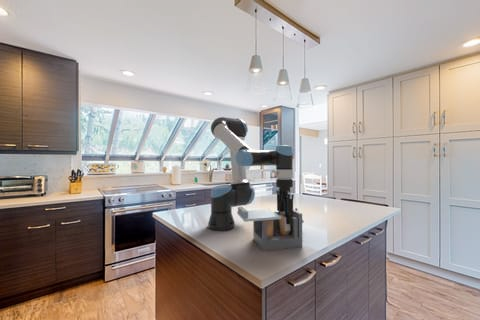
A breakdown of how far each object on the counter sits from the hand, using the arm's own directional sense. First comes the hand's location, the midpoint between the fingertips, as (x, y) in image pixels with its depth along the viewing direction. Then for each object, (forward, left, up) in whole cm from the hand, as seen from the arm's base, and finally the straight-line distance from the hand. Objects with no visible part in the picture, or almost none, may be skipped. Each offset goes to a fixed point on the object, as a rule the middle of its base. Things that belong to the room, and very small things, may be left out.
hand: (284, 228), depth 101 cm
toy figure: (-14, +12, -6) cm, 20 cm away
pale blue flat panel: (0, -13, +7) cm, 15 cm away
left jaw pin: (0, -8, -6) cm, 10 cm away
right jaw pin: (0, 0, -4) cm, 4 cm away
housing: (0, -4, -6) cm, 7 cm away
